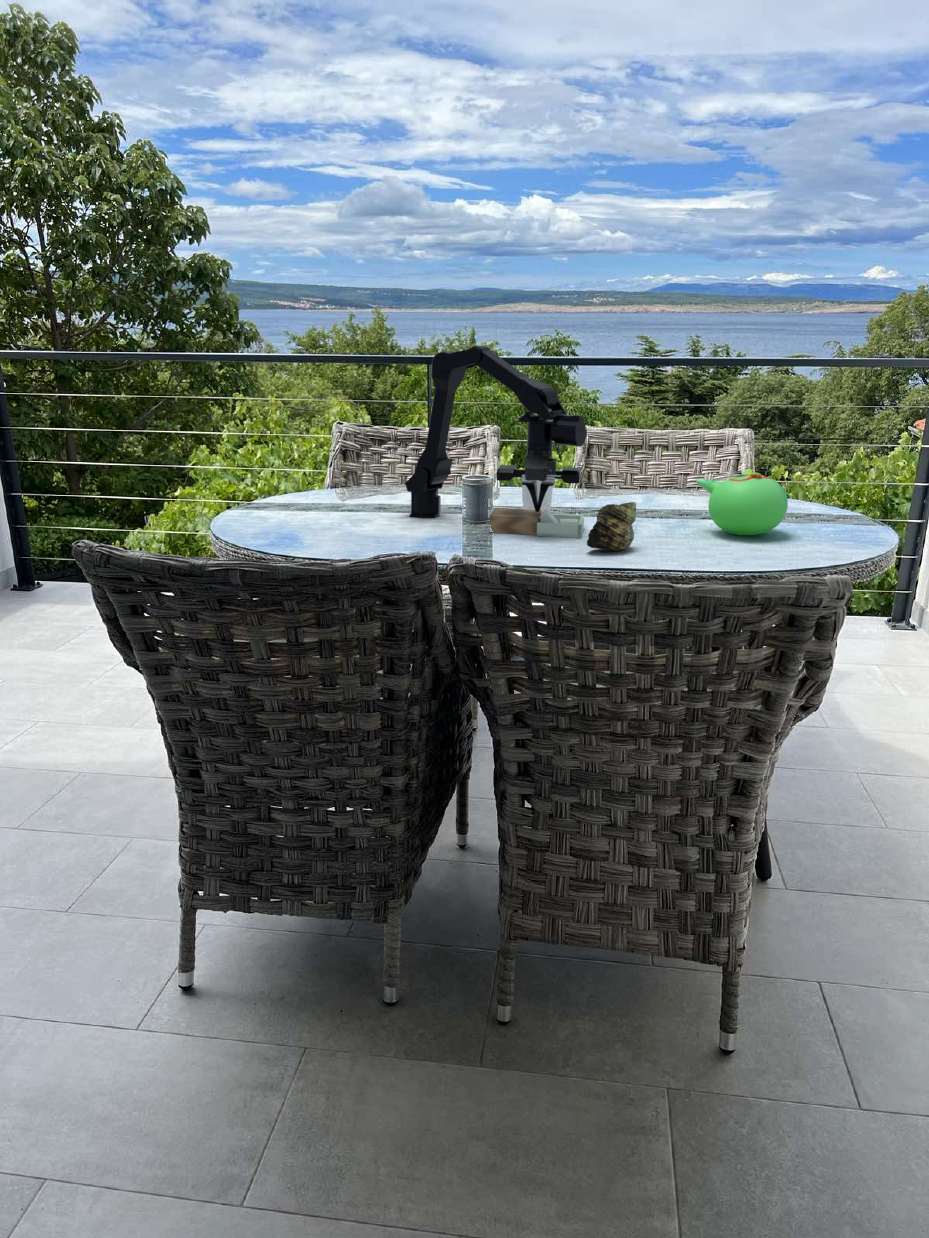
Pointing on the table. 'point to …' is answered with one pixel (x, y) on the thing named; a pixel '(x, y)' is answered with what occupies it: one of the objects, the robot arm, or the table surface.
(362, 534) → the table surface
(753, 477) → the green teapot
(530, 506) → the white cup
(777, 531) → the table surface
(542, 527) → the tray
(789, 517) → the table surface
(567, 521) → the tile
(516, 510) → the tan cardboard slab
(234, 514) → the table surface
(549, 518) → the tile
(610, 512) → the seashell
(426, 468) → the robot arm
